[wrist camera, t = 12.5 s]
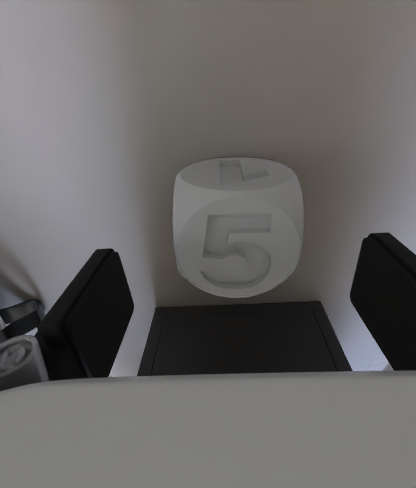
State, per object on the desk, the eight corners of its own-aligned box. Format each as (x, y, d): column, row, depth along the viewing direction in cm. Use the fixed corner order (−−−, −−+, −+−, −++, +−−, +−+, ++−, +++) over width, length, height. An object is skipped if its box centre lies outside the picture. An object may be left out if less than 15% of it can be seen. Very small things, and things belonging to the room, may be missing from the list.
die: (283, 155, 13) (313, 191, 9) (273, 241, 16) (293, 300, 12) (183, 157, 13) (167, 193, 9) (190, 242, 16) (179, 300, 12)
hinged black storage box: (155, 307, 19) (115, 454, 12) (320, 301, 18) (392, 454, 11) (183, 412, 27) (169, 541, 19) (300, 411, 26) (333, 545, 18)
